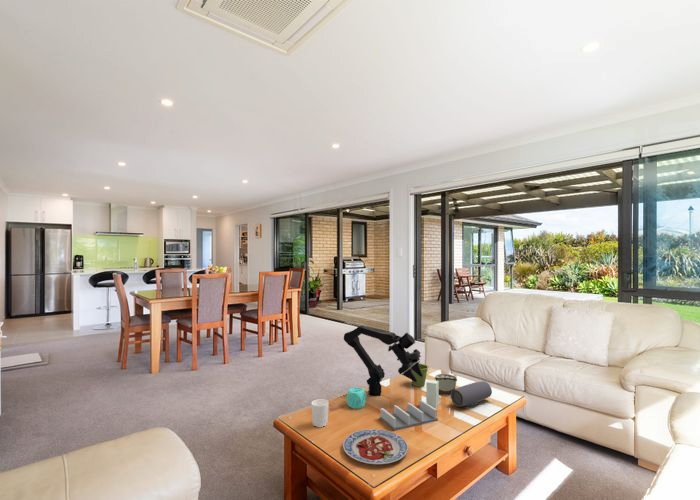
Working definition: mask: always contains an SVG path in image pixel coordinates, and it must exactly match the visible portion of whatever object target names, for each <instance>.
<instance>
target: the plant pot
mask: <svg viewBox="0 0 700 500" xmlns="http://www.w3.org/2000/svg"><path fill="white" fill-rule="evenodd" d="M411 367H412V366H411ZM411 367H410V368H411ZM419 367H420V370H421V372H422V375H423V376H422V377H421V376H419V375H418V374H417V373H416V372H415V371H413V370H412V373H413V374H414V376H415V378H416V380H417V382H414V381H413V380H411V383H412V386H414V387H418V388H422V387H425V386H426V381H427V380H426V379H427V373H428V370H429V366H428V365H427V364H423V363H419Z"/></svg>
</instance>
